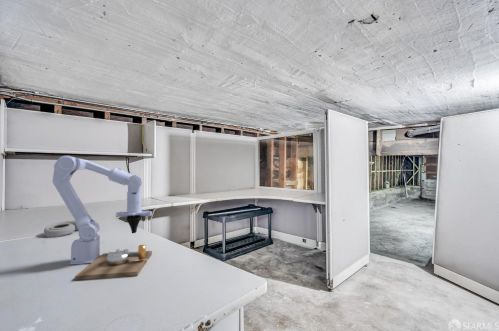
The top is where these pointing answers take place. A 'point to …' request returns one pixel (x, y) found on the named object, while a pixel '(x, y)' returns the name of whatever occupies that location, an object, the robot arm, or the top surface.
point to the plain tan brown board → (112, 268)
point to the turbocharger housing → (60, 229)
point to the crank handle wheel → (125, 255)
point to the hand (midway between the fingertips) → (134, 232)
